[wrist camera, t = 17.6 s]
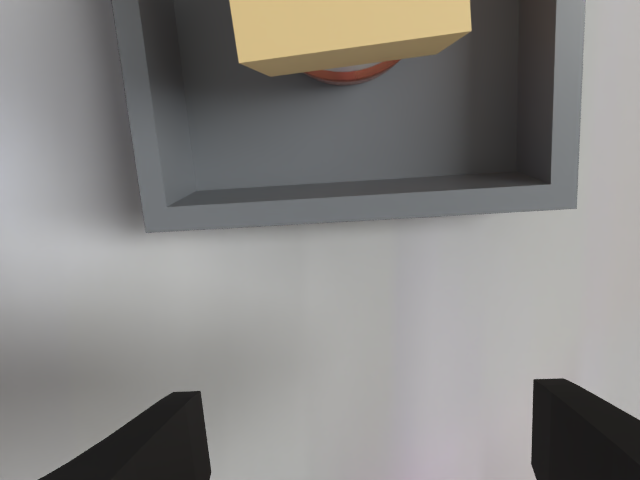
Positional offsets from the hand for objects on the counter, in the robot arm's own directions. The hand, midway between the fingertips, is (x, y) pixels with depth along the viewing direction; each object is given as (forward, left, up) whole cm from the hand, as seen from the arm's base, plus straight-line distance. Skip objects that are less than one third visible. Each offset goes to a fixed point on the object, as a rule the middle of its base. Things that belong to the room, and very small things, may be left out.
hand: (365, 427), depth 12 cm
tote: (0, +10, -10) cm, 14 cm away
